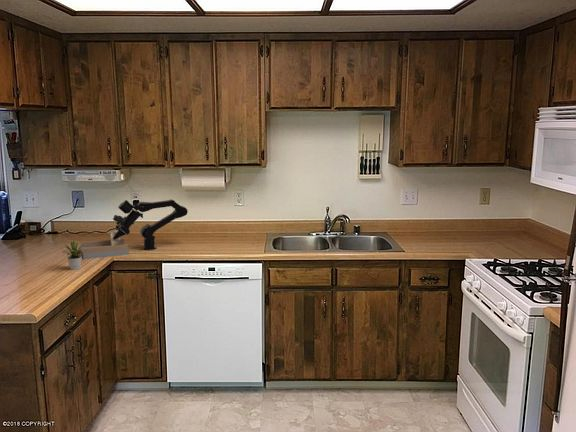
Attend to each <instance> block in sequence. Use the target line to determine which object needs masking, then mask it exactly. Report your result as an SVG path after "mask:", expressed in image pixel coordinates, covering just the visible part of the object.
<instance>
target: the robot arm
mask: <svg viewBox="0 0 576 432" xmlns="http://www.w3.org/2000/svg"><path fill="white" fill-rule="evenodd" d="M167 207H171V208H173V209H174V210H173V211H172V212H171V213H170V214H168V215H166V216H164V217H162V218H161V219H160V220H157V221H156V222H155V223H152V224H149V223H147V224H145V225H144V226H142V228H141V229H140V231H139V234H140V235H141V236H142V238H144V239H143V247H142V250H145V251H152V250H155V249H157V247H155V238H156V237H155V236H154V233H156V232H157V231H158V230H159V229H161V228H163V227H164V226H166V225H168V224H169V223H171V222H172V221H174V220H176V219H179V218H184V217H185V216H187V215H188V213H189V211H188V209H187V208H186V206H183V205H181V204H179V203H177V202H176V201H175V200H173V199H167V200H161V201H151V202H150V201H139V202H137V203H136V204H135V203H134V204H131V203H130V202H129V201H128V200H127V199H125V200H124V201H123V202H121V203H120V204H119V205H118V207H117V208H118V209H119V210H120V211H121V212H123V213H124V214H125V215H126V216H124V217H122V216H121V215H118V214H114V216H113V218H112V220H113V221H114V222H115V230H118V232H117V233H116V235H115V236H114V238H113V239H117V238H119V237H120V238H121V237H123V236H126V235H129V234H130V233H131V230H130V228H131V227H132V225H134V224H135V222H136V221H137V220H138V219H139V218H141V219H143V218H144V216H143V215H144V214H143V213H145V212H148V211H151V210H153V209H160V208H161V209H162V208H167Z"/></svg>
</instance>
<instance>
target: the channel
mask: <svg viewBox="0 0 576 432" xmlns="http://www.w3.org/2000/svg"><path fill="white" fill-rule="evenodd" d="M120 242H121V245H113V246H111V239H105V240H104V239H103V240H91V241H81V242H80V246H81V245H82V246H81V248H80V249H81V250H80V251H81V256H82V258H83V259H84V260H88V259H95V258H105V257H115V256H126V255H127V256H128V255H129V254H130V253H129V252H130V251H129V244H128V243H125V238H120ZM84 243H85V244H84ZM82 248H84V249H82ZM83 252H85V253H83Z"/></svg>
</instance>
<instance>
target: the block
mask: <svg viewBox="0 0 576 432" xmlns="http://www.w3.org/2000/svg"><path fill="white" fill-rule="evenodd" d="M117 232H118V230H116V229H114V230H113V229H112V230H109V234H110V240H111V246H113V245H121V242H120V239H121V237H119V238H117V239H113V238H114V236H115V235H116V233H117Z"/></svg>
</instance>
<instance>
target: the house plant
mask: <svg viewBox="0 0 576 432" xmlns="http://www.w3.org/2000/svg"><path fill="white" fill-rule="evenodd" d="M69 242H70V247H71V248H70V247H69V246H68V245H67V244H63V245H62V244H61V243H62V242H60V241H59V243H60V244H61V246H63V247H65V248H67V250H66V251H65V250H64V249H62V251H63V252H62V254H64V253H65V254H66V256H68V255H69V256H68V257H67V261H68V262H67V263H68V266H69V269H70V270H72V271H74V270H80V269H82V268H81V266H82V258H83V255H82V251H81V246H82V245H81V244H80V246H79V248H78V240H76V239H73V240H71V239H70V238H69ZM84 244H85V243H84ZM82 249H84V248H82ZM83 253H85V252H83Z"/></svg>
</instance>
